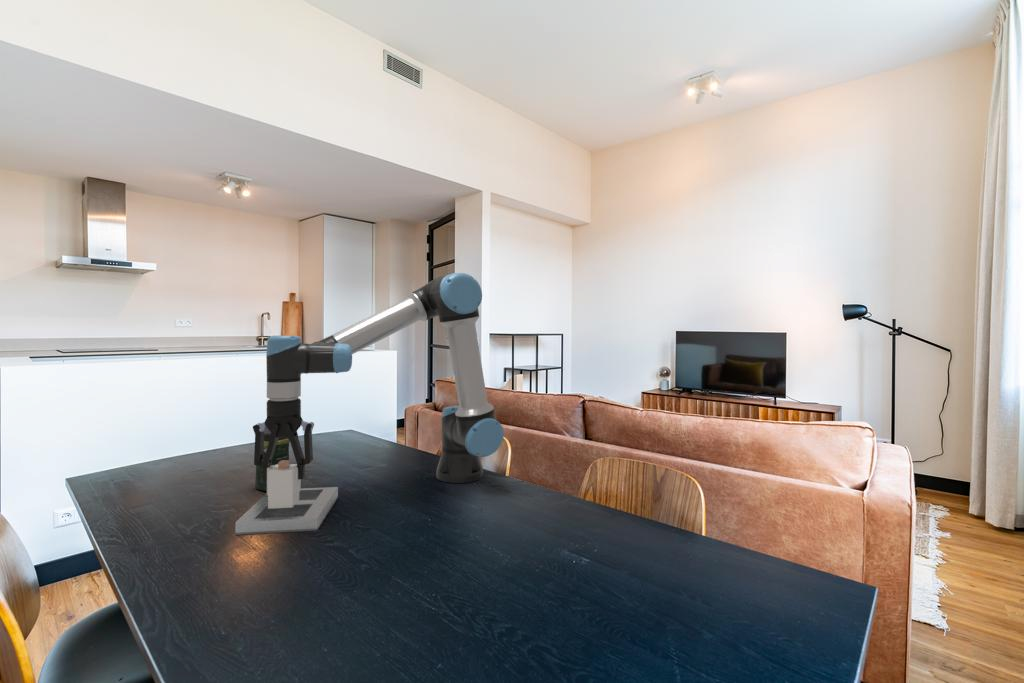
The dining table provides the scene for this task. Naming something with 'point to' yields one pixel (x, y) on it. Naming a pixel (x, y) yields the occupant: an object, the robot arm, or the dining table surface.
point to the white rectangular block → (281, 486)
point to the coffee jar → (279, 454)
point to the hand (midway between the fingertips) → (284, 492)
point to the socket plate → (289, 513)
